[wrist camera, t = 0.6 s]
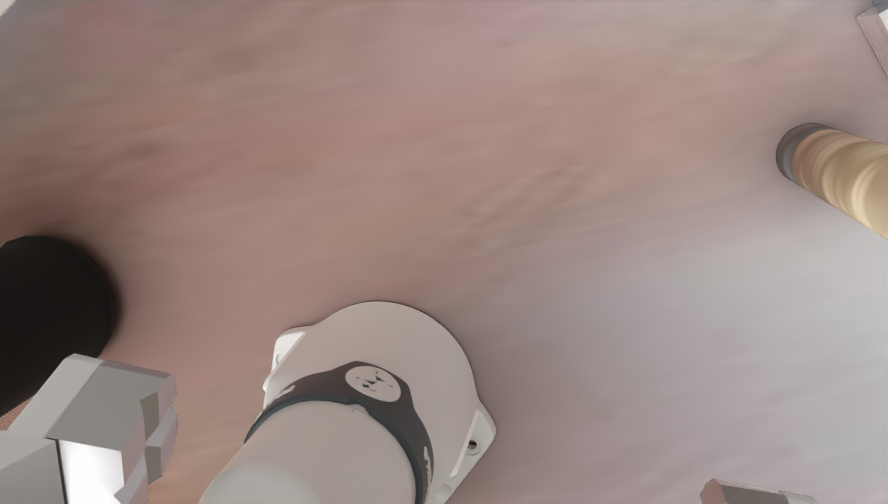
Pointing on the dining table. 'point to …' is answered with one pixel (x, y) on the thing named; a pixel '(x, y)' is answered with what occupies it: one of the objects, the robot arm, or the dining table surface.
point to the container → (47, 313)
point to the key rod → (839, 171)
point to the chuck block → (877, 30)
